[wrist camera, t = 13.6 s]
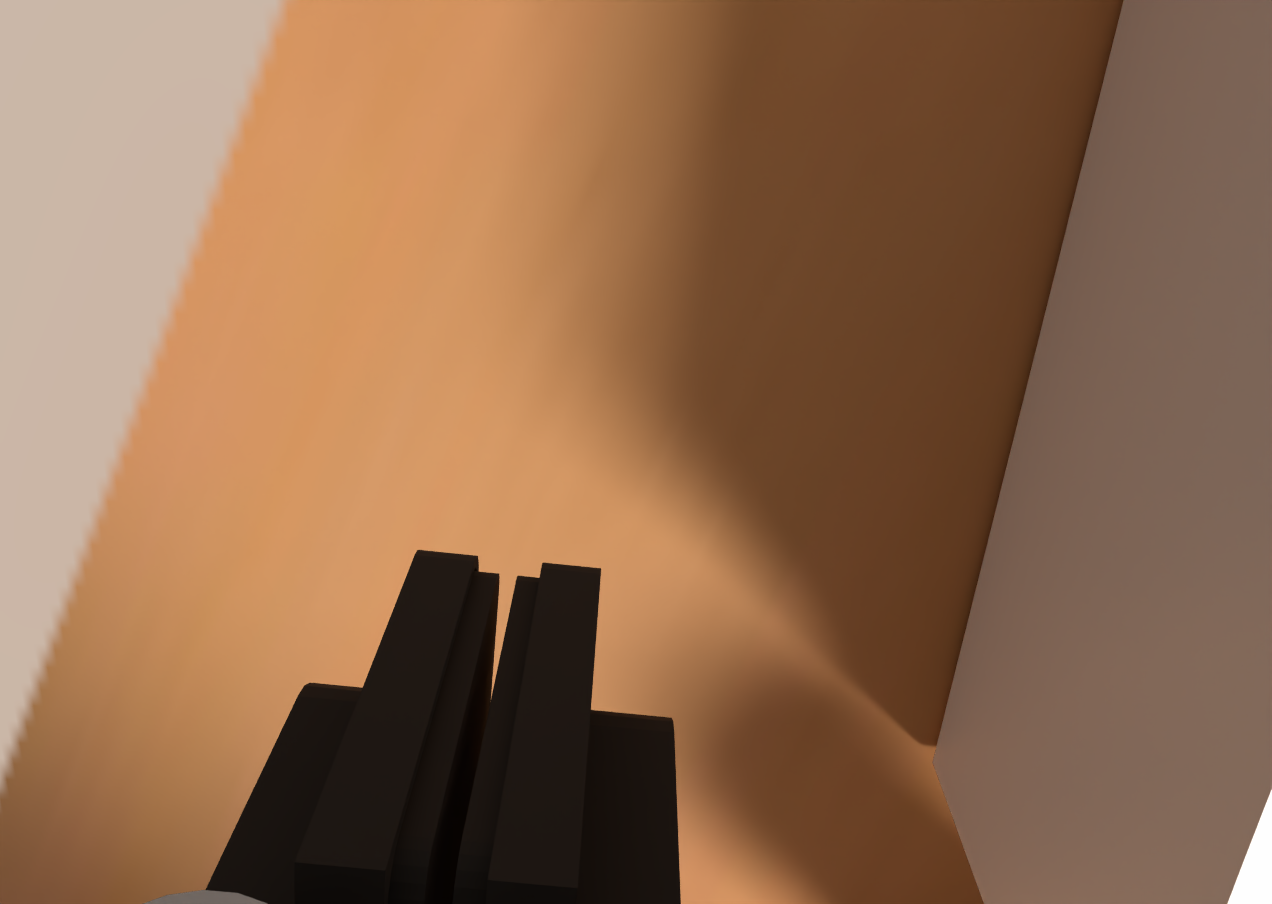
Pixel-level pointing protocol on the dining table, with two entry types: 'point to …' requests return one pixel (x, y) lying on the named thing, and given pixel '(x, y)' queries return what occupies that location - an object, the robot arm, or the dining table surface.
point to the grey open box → (1138, 508)
